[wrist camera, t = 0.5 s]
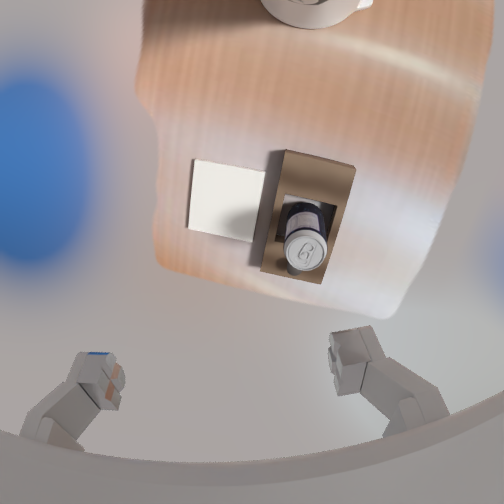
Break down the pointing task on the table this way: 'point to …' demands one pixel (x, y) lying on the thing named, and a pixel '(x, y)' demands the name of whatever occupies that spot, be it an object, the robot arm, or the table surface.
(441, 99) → the table surface
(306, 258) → the beverage can
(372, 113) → the table surface
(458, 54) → the table surface
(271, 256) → the base
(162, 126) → the table surface
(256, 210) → the pad
